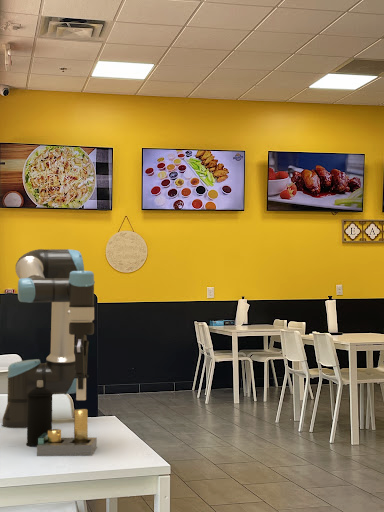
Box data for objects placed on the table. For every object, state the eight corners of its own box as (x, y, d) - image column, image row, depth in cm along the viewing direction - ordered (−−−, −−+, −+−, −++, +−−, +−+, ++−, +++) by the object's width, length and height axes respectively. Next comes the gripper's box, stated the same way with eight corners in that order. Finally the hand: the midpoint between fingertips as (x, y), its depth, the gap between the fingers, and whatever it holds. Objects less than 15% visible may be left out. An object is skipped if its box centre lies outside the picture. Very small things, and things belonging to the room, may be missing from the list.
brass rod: (75, 449, 223) (75, 409, 224) (88, 448, 223) (88, 409, 224) (73, 451, 219) (73, 411, 220) (86, 451, 219) (86, 410, 220)
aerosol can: (46, 447, 228) (47, 382, 229) (21, 446, 229) (22, 381, 230) (56, 442, 236) (57, 379, 237) (32, 441, 237) (33, 379, 238)
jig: (44, 447, 227) (44, 427, 228) (96, 447, 227) (96, 426, 228) (36, 455, 215) (37, 434, 216) (91, 455, 215) (91, 433, 216)
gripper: (72, 321, 230) (72, 397, 229) (65, 322, 217) (65, 402, 216) (96, 320, 230) (96, 396, 229) (91, 322, 217) (90, 402, 216)
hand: (81, 399), depth 222 cm, fingers closed
